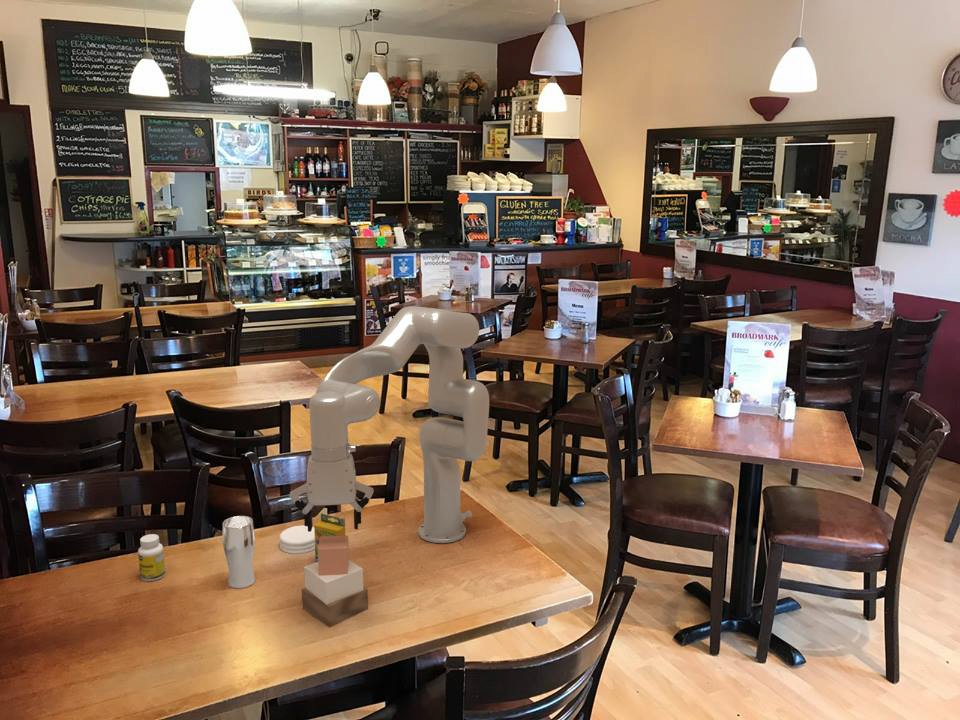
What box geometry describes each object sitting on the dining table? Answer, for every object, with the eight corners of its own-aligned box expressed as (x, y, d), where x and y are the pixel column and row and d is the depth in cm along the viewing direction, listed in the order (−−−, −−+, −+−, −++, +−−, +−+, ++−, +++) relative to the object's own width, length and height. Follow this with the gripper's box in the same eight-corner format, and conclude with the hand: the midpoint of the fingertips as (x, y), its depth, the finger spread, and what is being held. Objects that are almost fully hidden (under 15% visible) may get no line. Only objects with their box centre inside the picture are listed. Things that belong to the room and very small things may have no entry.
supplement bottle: (135, 579, 178) (131, 540, 176) (153, 568, 183) (149, 530, 181) (153, 584, 176) (149, 544, 174) (170, 573, 181) (167, 534, 179)
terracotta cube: (348, 560, 168) (348, 535, 166) (347, 574, 162) (346, 548, 161) (321, 561, 167) (320, 536, 166) (318, 575, 161) (317, 549, 160)
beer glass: (228, 592, 173) (224, 530, 169) (223, 578, 179) (219, 518, 175) (260, 585, 176) (256, 524, 173) (253, 571, 182) (250, 513, 179)
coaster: (271, 547, 195) (271, 535, 194) (301, 533, 202) (300, 521, 202) (298, 558, 189) (298, 545, 188) (328, 543, 197) (327, 531, 196)
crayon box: (314, 561, 187) (313, 517, 185) (322, 556, 190) (320, 512, 187) (339, 568, 184) (338, 523, 182) (346, 562, 187) (345, 518, 184)
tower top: (340, 574, 172) (340, 553, 171) (363, 590, 165) (362, 569, 164) (304, 587, 166) (304, 566, 165) (326, 604, 159) (326, 582, 158)
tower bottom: (340, 592, 174) (339, 572, 173) (368, 610, 167) (367, 589, 166) (302, 609, 167) (301, 589, 165) (329, 628, 160) (329, 606, 159)
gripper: (372, 443, 163) (374, 518, 167) (289, 446, 161) (293, 522, 165) (372, 456, 156) (374, 533, 160) (285, 459, 154) (289, 538, 158)
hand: (333, 527), depth 162 cm, fingers open, 9 cm apart
